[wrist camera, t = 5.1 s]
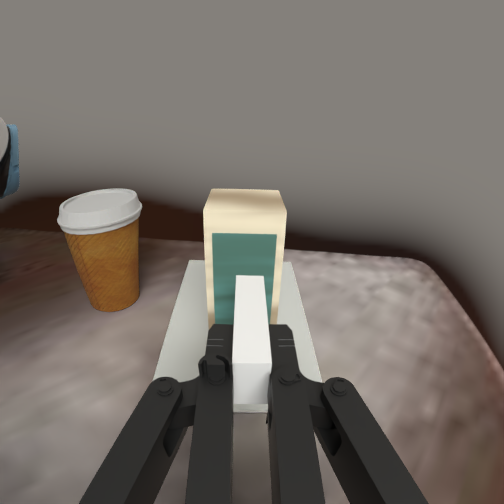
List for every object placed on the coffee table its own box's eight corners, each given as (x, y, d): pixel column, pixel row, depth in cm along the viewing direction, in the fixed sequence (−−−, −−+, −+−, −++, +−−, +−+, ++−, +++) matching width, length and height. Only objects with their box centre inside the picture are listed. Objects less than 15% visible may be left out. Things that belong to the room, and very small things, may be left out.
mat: (326, 409, 21) (327, 406, 21) (147, 405, 21) (146, 403, 21) (290, 264, 43) (290, 262, 43) (189, 262, 43) (189, 260, 42)
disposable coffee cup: (126, 269, 40) (115, 183, 35) (168, 296, 35) (158, 195, 30) (67, 295, 33) (45, 203, 28) (99, 333, 28) (72, 222, 23)
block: (271, 373, 25) (286, 211, 19) (211, 372, 24) (203, 209, 18) (268, 334, 29) (278, 190, 23) (215, 333, 29) (211, 188, 23)
